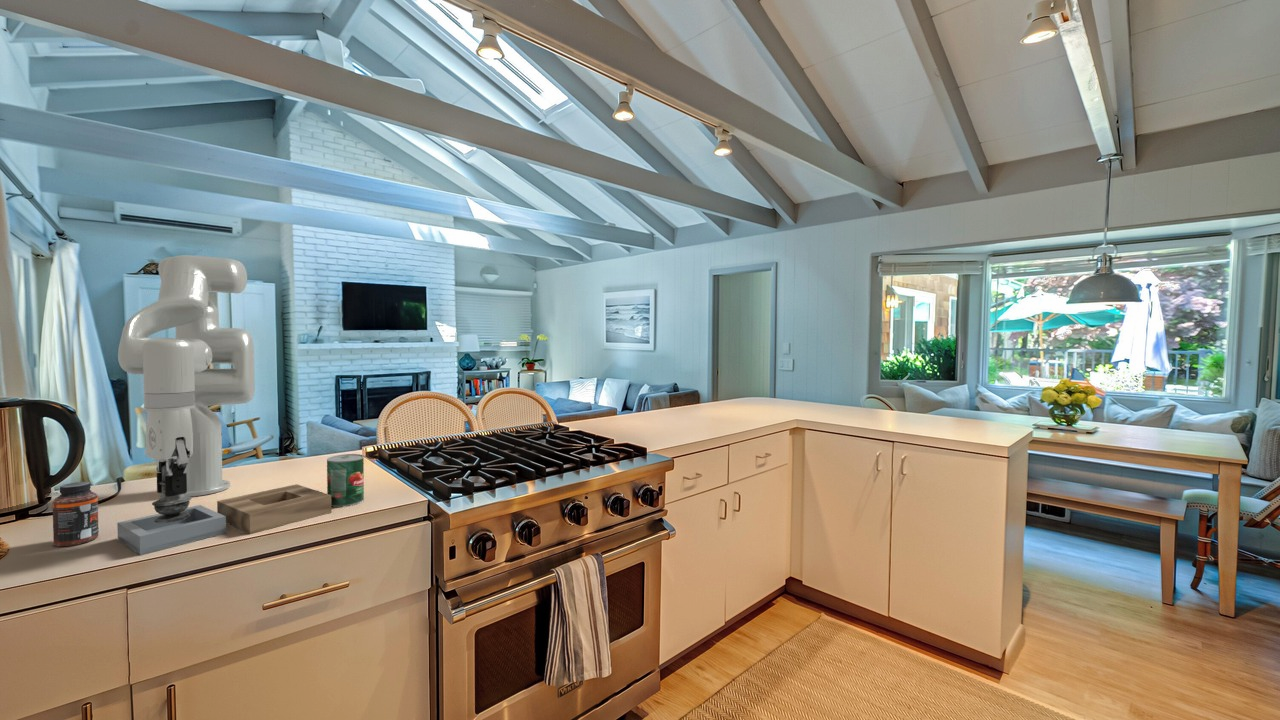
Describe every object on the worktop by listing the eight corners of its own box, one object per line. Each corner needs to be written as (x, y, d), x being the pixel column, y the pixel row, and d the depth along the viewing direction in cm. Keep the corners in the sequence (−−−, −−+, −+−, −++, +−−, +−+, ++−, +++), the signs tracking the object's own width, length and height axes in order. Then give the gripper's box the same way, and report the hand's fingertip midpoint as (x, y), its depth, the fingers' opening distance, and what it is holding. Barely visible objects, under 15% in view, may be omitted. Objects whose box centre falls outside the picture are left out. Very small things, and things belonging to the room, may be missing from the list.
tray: (117, 540, 101) (117, 522, 101) (200, 520, 112) (200, 505, 112) (140, 555, 95) (139, 536, 94) (226, 533, 106) (225, 516, 105)
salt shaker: (168, 524, 100) (166, 463, 99) (144, 522, 101) (142, 461, 101) (199, 514, 106) (198, 456, 105) (176, 512, 107) (175, 454, 106)
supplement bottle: (99, 541, 101) (98, 483, 100) (53, 550, 96) (51, 490, 96) (98, 533, 105) (96, 478, 104) (53, 541, 100) (52, 484, 100)
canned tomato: (365, 503, 125) (365, 458, 125) (327, 509, 121) (327, 462, 121) (362, 495, 132) (362, 452, 132) (326, 500, 128) (326, 456, 127)
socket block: (217, 518, 114) (217, 500, 114) (296, 500, 127) (296, 484, 127) (250, 534, 105) (249, 514, 105) (331, 512, 119) (331, 495, 119)
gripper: (130, 400, 104) (132, 490, 104) (160, 406, 95) (162, 505, 96) (178, 397, 110) (180, 482, 111) (210, 402, 101) (212, 495, 102)
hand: (172, 492), depth 103 cm, fingers closed on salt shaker, 3 cm apart
